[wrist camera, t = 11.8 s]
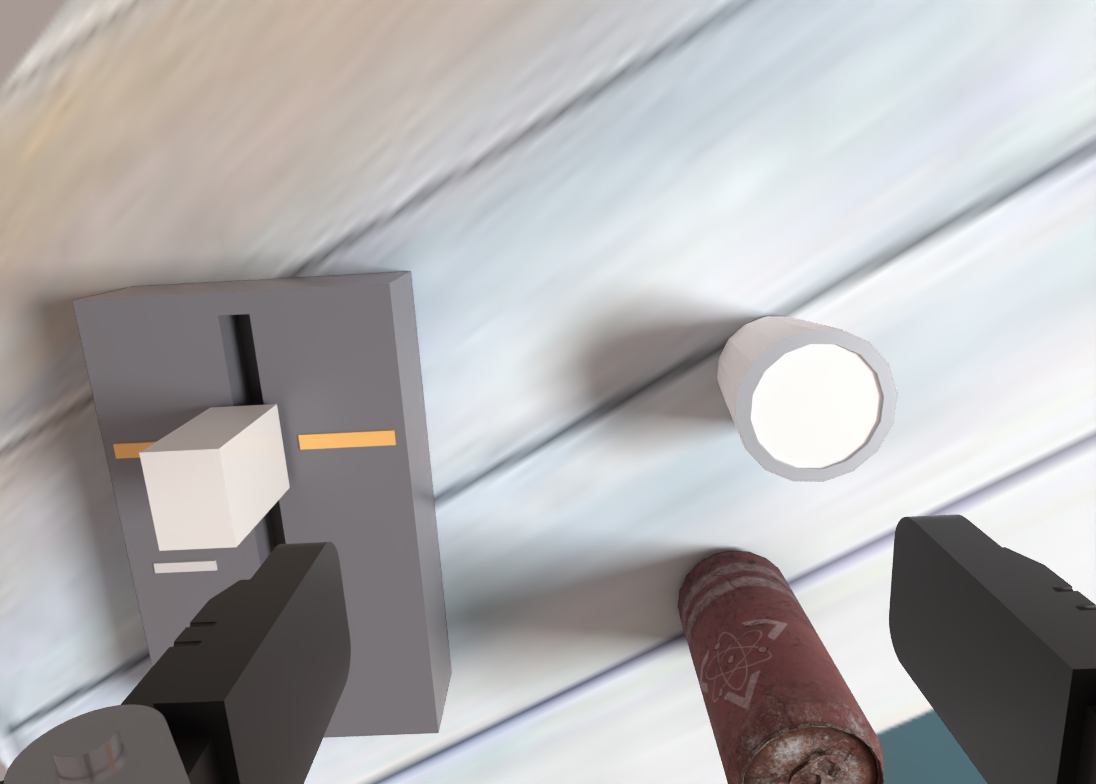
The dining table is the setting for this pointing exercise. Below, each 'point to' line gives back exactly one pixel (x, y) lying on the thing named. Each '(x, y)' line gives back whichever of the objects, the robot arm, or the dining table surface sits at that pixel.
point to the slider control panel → (290, 461)
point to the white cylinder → (806, 396)
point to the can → (771, 680)
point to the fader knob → (215, 477)
